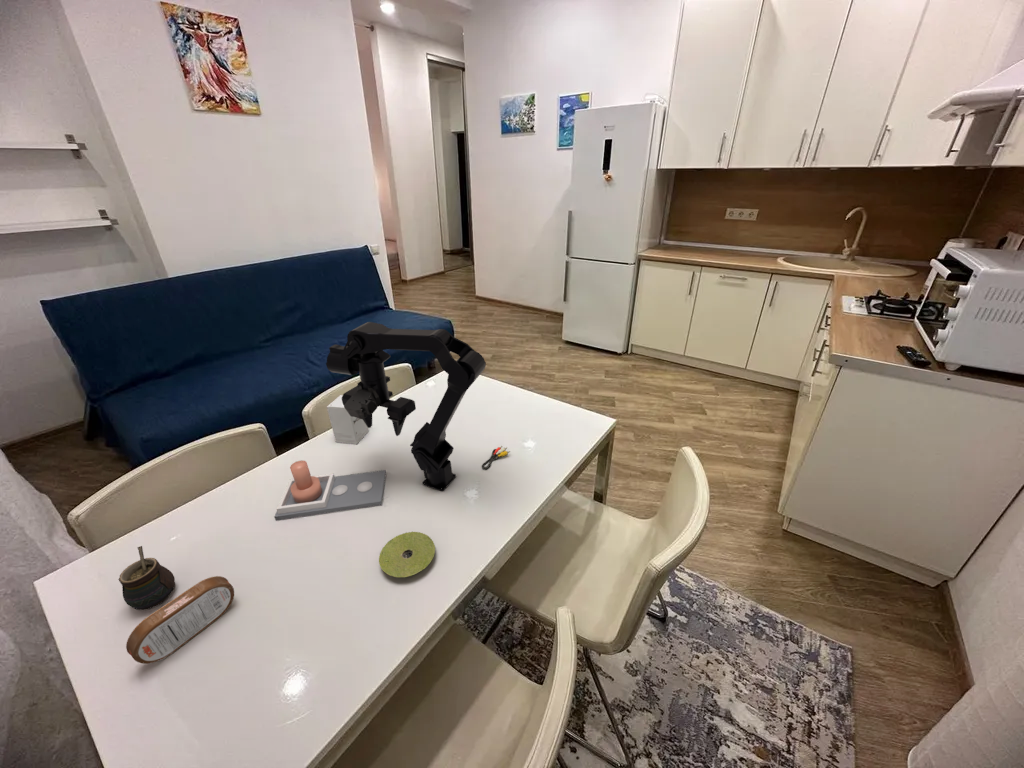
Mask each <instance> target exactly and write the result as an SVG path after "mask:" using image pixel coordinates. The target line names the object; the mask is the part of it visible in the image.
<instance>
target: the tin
mask: <svg viewBox="0 0 1024 768" xmlns="http://www.w3.org/2000/svg"><path fill="white" fill-rule="evenodd" d="M234 598H235V590H234V587H233V585H232V584H231V583H230V582H229V579H227V578H226V577H223V576H218V575H216V576H211V577H207V578H204V579H202V580H200V581H199V582H197V583H195V584H194V585H192V586H191V587H190V588H188V589H186V591H184V592H182V593H181V594H180V595H178V596H176V597H175V598H174V599H172V600H170V601H169V602H167V603H166V604H164V605H162V607H160V608H159V609H157V610H155V611H154V612H153V613H151V614H149V615H148V616H147V617H146V618H144V619H143V620H141V621H140V622H139V623H138V624H137V625H136V626H135V627H134V629H133V630H132V631H131V633H130V635H129V636H128V637H127V641H126V644H125V645H126V646H125V649H126V652H127V654H128V655H130V656H131V657H132V659H133V660H134V661H135V662H137V663H138V664H143V665H146V664H147V665H149V664H153V663H157V662H160V661H162V660H164V659H166V658H167V657H169V656H171V655H172V654H174V653H175V652H177V651H178V650H179V649H180V648H181V647H183V646H184V645H185V644H187V643H188V642H189V641H191V640H192V639H194V638H195V637H196V636H197V635H199V634H200V633H202V632H203V631H204V630H205V629H207V628H208V627H209V626H210V625H212V624H213V623H215V622H216V621H217V620H218V619H220V618H221V617H222V616H223V615H224V614H225V613H226V612H227V611H228V609H230V607H231V605H232V603H233V602H234Z"/></svg>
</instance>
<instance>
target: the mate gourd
mask: <svg viewBox="0 0 1024 768" xmlns="http://www.w3.org/2000/svg"><path fill="white" fill-rule="evenodd" d="M143 549H144V548H143V545H141V546H137V550H138V554H139V560H136V561H135V562H133V563H132V564H129V565H128V566H127V567H126V568H124V569H123V571H121V573H120V575H119V578H118V579H117V580H118V582H119V583H120V584H121V586H122V587H121V588H122V597H123V600H124V602H125V603H126V605H127V606H129V607H131V608H133V609H134V610H136V611H146V610H149V609H153V608H155V607H158V606H159V605H161V604H163V603H164V602H165V601H166V600H167V599H168V598H169V597H170V596H171V594H172V593H173V591H174V590H175V587H176V580H175V575H174V573H173V572H172V571H171V570H169V569H168V568H167V567H165V566H164V565H162V564H160V562H159V561H158V560H157V558H155V557H146V558H145V557H144V556H145V555H144V550H143Z"/></svg>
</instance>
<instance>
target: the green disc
mask: <svg viewBox="0 0 1024 768" xmlns="http://www.w3.org/2000/svg"><path fill="white" fill-rule="evenodd" d="M435 552H436V547H435V543H434V540H433V538H431V536H429V535H427V534H426V533H423V532H419V531H408V532H404V533H402V534H398V535H396V536H394V537H393V538H391V539H390V540H389V541H388V542H386V543H385V544H384V546H383V547H382V549H381V551H380V552H379V556H378V563H379V566H380V569H381V571H383V572H384V573H385V574H387V575H388V576H390V577H394V578H407V577H412V576H414V575H416V574H418V573H419V572H422V571H423V570H424V569H426V568H427V567H428V566H429V564H430V563H431V562H432V560H433V559H434V556H435V554H436V553H435Z"/></svg>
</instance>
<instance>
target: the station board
mask: <svg viewBox="0 0 1024 768" xmlns="http://www.w3.org/2000/svg"><path fill="white" fill-rule="evenodd" d="M313 476H314V477H317V478H318V479H319V481H320V485H321V488H322V493H321V495H320V496H319V497H318V498H317V499H315V500H314V501H312V502H307V503H297V502H295V501H294V498H293V495H292V493H291V486H292V484H293V483H294V482H295V481H294V478H290V479H289V480H288V482H287V485H286V487H285V489H284V491H283V493H282V495H281V498H280V500H279V502H278V505H277V507H276V511H275V515H274V516H273V517H274V520H275V521H284V520H288V519H294V518H295V519H296V518H302V517H303V518H304V517H310V516H316V515H323V514H330V513H331V514H332V513H337V512H343V511H350V510H359V509H364V508H372V507H378V506H382V505H383V500H384V494H385V493H384V492H385V485H386V477H387V471H386V469H381V470H375V471H366V472H359V473H352V474H351V473H350V474H344V475H337V476H336V475H335V474H334V473H327V474H320V475H313Z"/></svg>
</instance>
